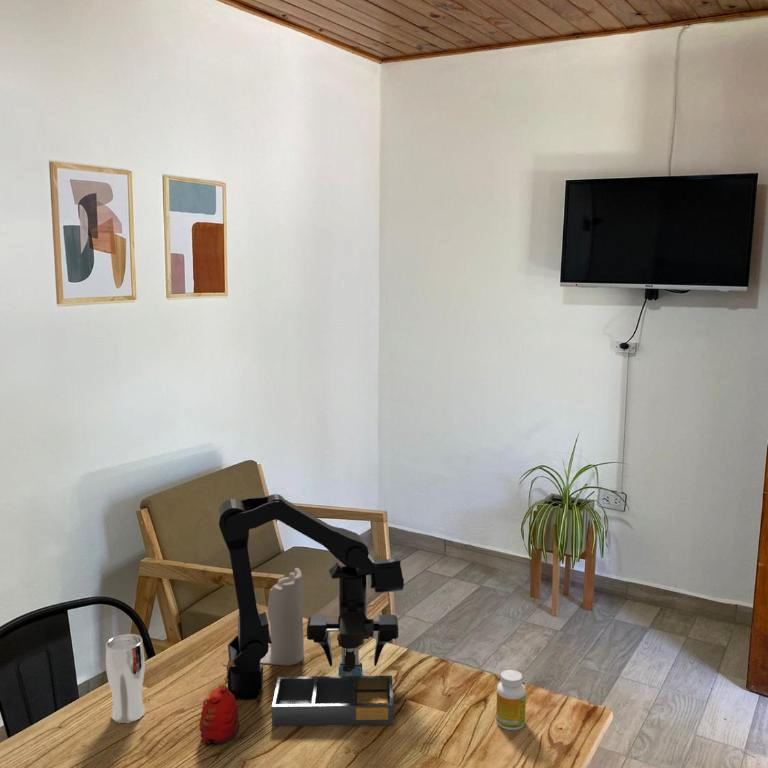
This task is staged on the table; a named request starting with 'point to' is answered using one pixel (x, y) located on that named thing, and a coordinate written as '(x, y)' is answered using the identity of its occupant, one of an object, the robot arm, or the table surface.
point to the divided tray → (333, 701)
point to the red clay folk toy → (219, 715)
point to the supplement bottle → (511, 701)
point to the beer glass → (126, 676)
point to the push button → (350, 661)
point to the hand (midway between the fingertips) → (353, 665)
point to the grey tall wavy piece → (286, 621)
